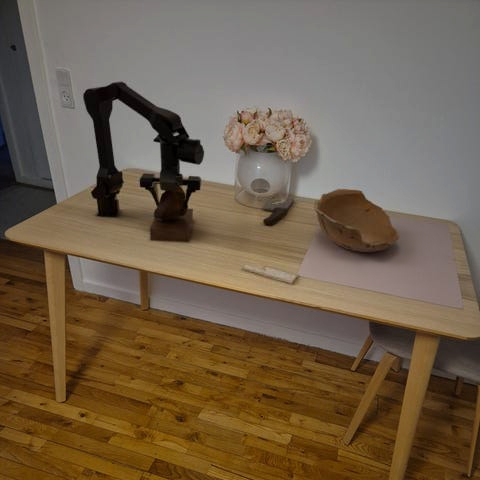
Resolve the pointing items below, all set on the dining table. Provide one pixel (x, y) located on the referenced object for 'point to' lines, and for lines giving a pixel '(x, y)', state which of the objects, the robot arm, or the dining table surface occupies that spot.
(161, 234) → the dark walnut box
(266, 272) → the white plastic strip tool
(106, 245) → the dining table surface
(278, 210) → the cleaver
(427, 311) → the dining table surface
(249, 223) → the dining table surface
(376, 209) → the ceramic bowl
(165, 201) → the decorative rock
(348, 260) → the dining table surface
